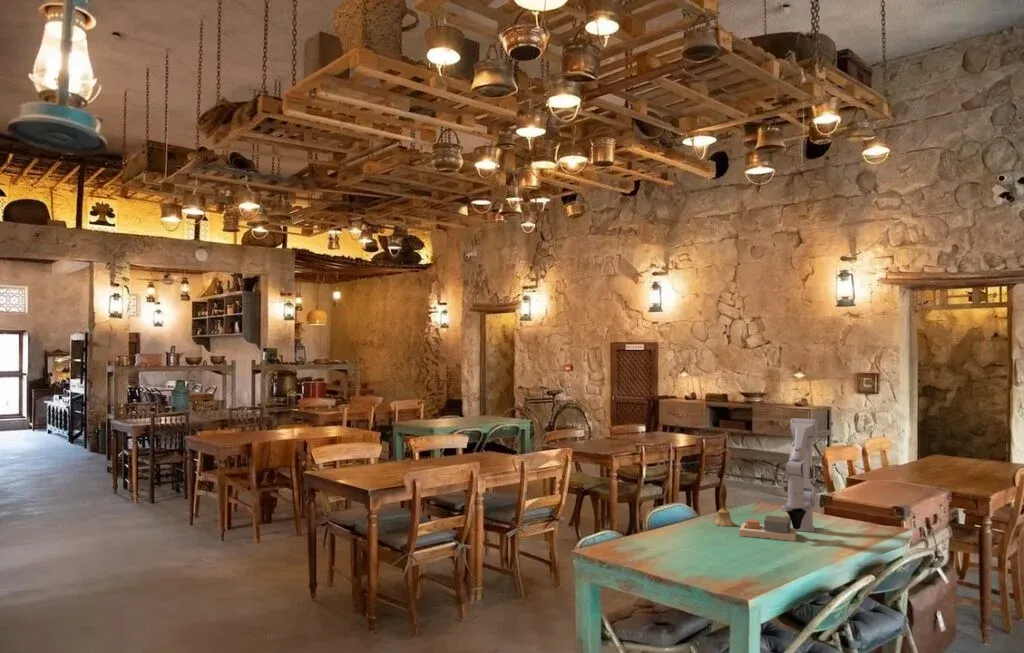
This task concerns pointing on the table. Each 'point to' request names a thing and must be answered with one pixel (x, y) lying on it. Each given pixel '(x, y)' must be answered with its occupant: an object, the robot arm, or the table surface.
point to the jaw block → (752, 524)
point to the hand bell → (724, 511)
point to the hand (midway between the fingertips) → (796, 528)
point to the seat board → (767, 533)
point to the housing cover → (777, 524)
